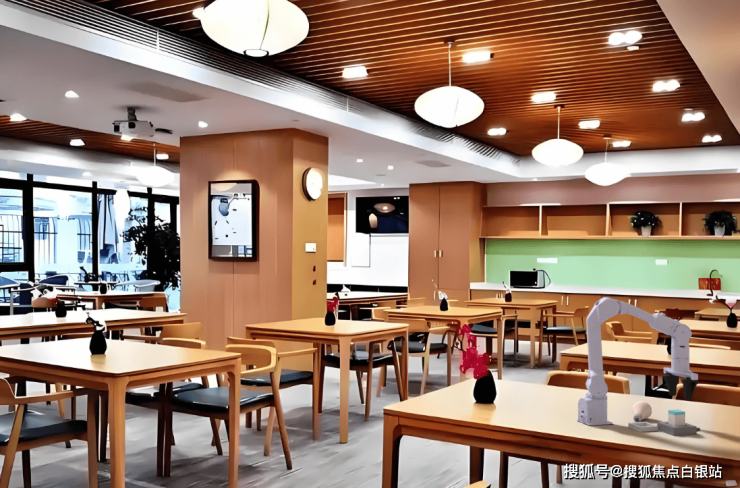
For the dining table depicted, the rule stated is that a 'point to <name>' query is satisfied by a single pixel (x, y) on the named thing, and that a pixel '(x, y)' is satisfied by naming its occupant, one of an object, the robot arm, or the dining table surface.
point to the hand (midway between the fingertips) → (680, 397)
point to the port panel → (677, 429)
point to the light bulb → (641, 411)
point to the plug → (676, 417)
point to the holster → (643, 426)
